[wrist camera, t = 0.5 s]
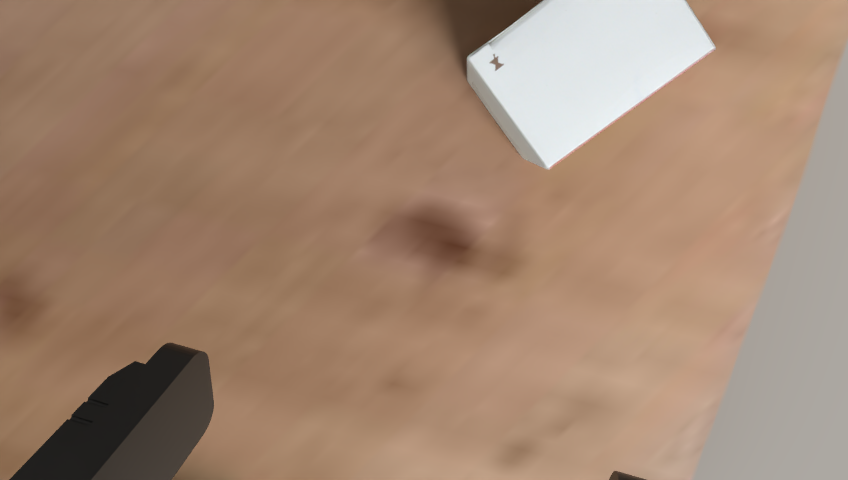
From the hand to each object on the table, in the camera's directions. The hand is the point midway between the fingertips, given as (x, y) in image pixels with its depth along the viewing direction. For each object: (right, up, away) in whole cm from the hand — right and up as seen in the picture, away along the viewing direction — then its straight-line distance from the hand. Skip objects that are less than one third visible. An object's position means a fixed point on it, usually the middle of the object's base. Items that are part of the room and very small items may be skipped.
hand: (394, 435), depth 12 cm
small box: (+8, +13, +22) cm, 27 cm away
